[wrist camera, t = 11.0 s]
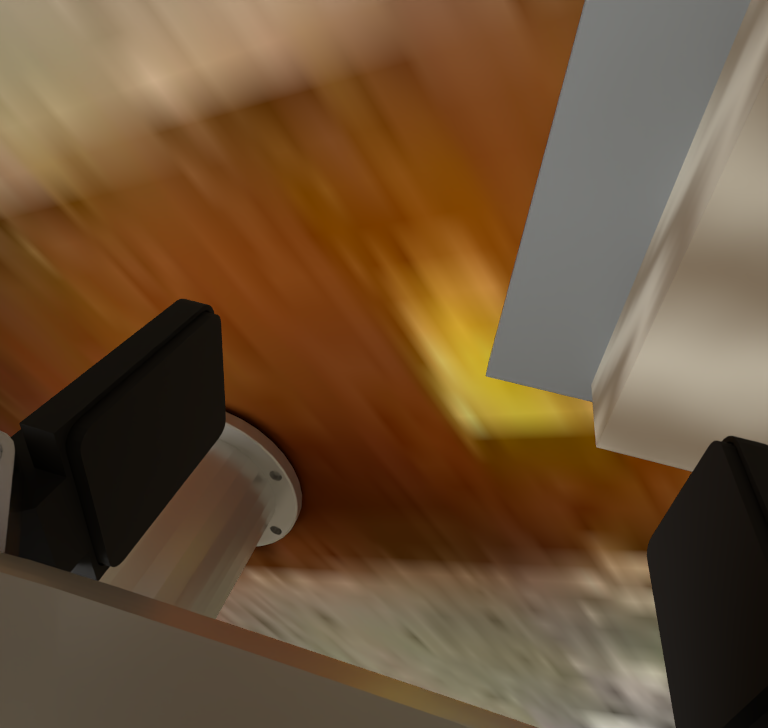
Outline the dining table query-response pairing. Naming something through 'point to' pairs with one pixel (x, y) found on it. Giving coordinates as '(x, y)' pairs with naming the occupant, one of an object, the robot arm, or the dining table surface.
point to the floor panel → (607, 180)
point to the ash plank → (701, 287)
